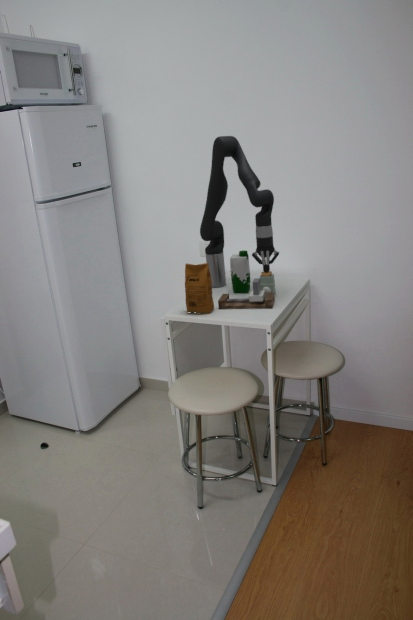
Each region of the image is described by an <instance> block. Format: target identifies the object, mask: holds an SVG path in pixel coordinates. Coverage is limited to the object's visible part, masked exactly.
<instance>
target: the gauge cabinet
mask: <svg viewBox="0 0 413 620" xmlns="http://www.w3.org/2000/svg"><path fill="white" fill-rule="evenodd" d="M259 278H260V288H261V290H265V298H266V296H267V294H268V293H274V294H275V295H276V288H275V287H276V280H275V274H274V273H272V275H271V277H263V276H262V275H261V274H260V276H259Z"/></svg>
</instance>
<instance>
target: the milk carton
mask: <svg viewBox="0 0 413 620" xmlns="http://www.w3.org/2000/svg"><path fill="white" fill-rule="evenodd" d="M229 264H230V277H231V285H232V286H231V287H232V290H233V294H237V295H239V294H249V292H250V290H251V272H250V271H251V270H250V258H249V253H248V250H239V251H238V253H236V254H232V255H231V257H230V258H229Z"/></svg>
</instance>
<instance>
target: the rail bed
mask: <svg viewBox="0 0 413 620" xmlns="http://www.w3.org/2000/svg"><path fill="white" fill-rule="evenodd" d="M275 296H276V293H275V294H274V293H268V294H267V296H266V298H264V300H263V301H252V302H249V297H248V298H247V297H246V298H230V293H222V294H221V295H220V297H219V298H218V300H217V302H218V303H217V304H218V310H240V309H241V310H243V309H244V310H247V309H248V310H249V309H250V310H253V309H256V310H257V309H258V310H259V309H260V310H261V309H273V308H274V305H275V302H276V299H275V298H276V297H275Z"/></svg>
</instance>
